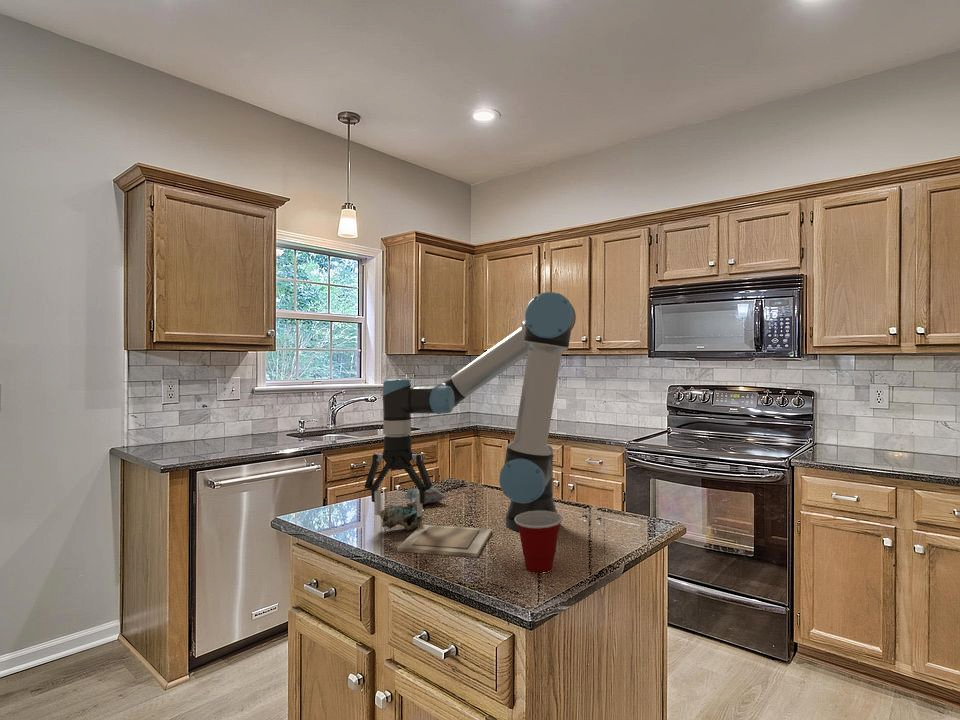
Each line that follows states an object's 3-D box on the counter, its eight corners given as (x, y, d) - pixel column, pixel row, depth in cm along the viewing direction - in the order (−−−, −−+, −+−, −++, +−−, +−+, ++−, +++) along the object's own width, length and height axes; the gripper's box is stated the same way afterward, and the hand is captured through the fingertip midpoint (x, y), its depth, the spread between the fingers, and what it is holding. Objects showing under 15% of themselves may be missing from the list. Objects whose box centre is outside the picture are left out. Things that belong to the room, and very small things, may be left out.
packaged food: (447, 504, 186) (447, 488, 186) (412, 508, 180) (412, 492, 180) (437, 498, 193) (436, 483, 193) (403, 502, 188) (403, 487, 188)
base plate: (491, 532, 157) (491, 527, 157) (477, 557, 137) (477, 552, 137) (421, 528, 161) (421, 523, 161) (397, 551, 141) (397, 546, 141)
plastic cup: (504, 569, 130) (504, 515, 130) (536, 557, 137) (536, 507, 137) (539, 583, 122) (539, 526, 122) (572, 570, 129) (572, 516, 129)
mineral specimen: (384, 532, 152) (399, 505, 152) (372, 515, 159) (386, 489, 159) (420, 543, 159) (434, 517, 159) (406, 526, 166) (420, 501, 166)
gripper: (442, 433, 160) (444, 512, 160) (362, 433, 165) (363, 509, 164) (435, 437, 153) (436, 519, 152) (351, 436, 157) (352, 516, 157)
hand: (398, 514), depth 158 cm, fingers open, 11 cm apart
